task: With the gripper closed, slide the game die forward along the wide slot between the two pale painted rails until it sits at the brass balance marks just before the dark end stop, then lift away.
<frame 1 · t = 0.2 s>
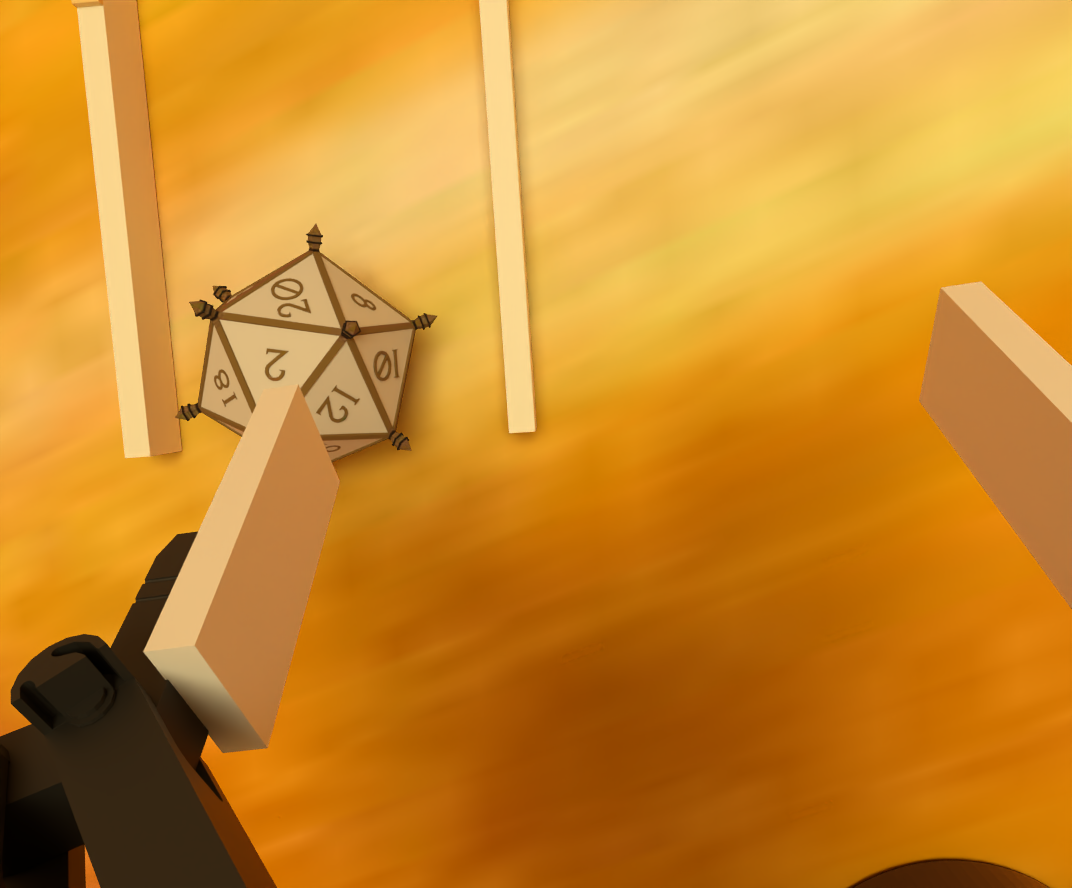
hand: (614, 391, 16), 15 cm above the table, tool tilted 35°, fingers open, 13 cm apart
slotted beam: (320, 134, 31), on the table
game die: (341, 368, 32), on the table
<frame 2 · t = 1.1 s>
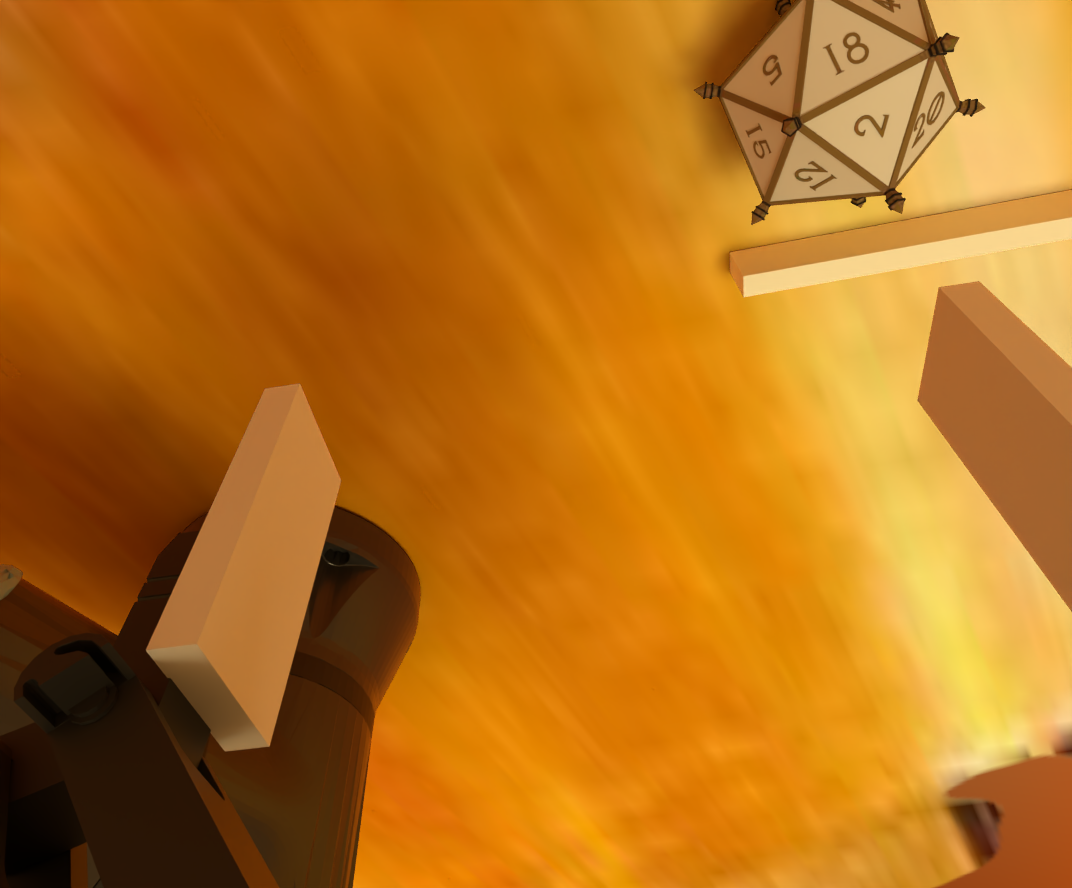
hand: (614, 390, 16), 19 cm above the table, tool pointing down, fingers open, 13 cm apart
slotted beam: (1051, 23, 29), on the table
game die: (799, 72, 30), on the table
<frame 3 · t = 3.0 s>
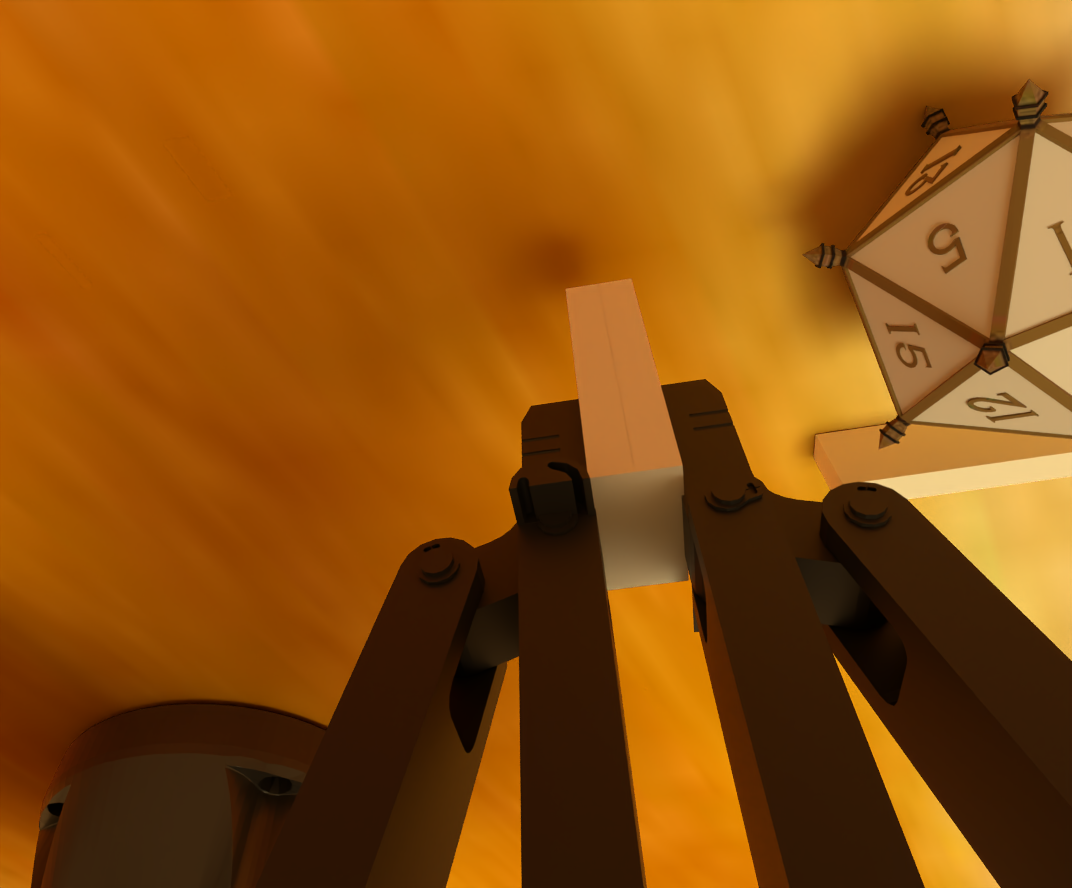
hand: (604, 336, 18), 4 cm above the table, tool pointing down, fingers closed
game die: (942, 209, 20), on the table
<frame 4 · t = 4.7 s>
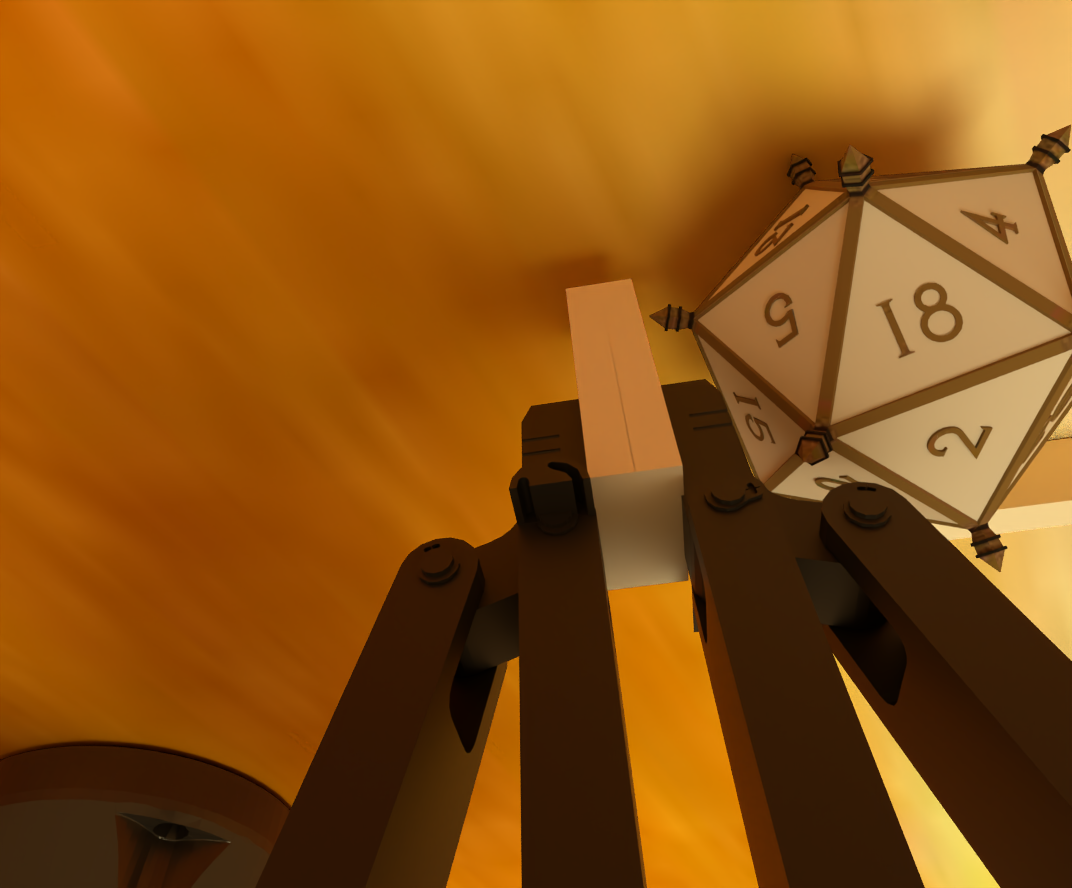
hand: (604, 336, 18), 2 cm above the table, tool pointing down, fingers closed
game die: (822, 259, 19), on the table, touching gripper
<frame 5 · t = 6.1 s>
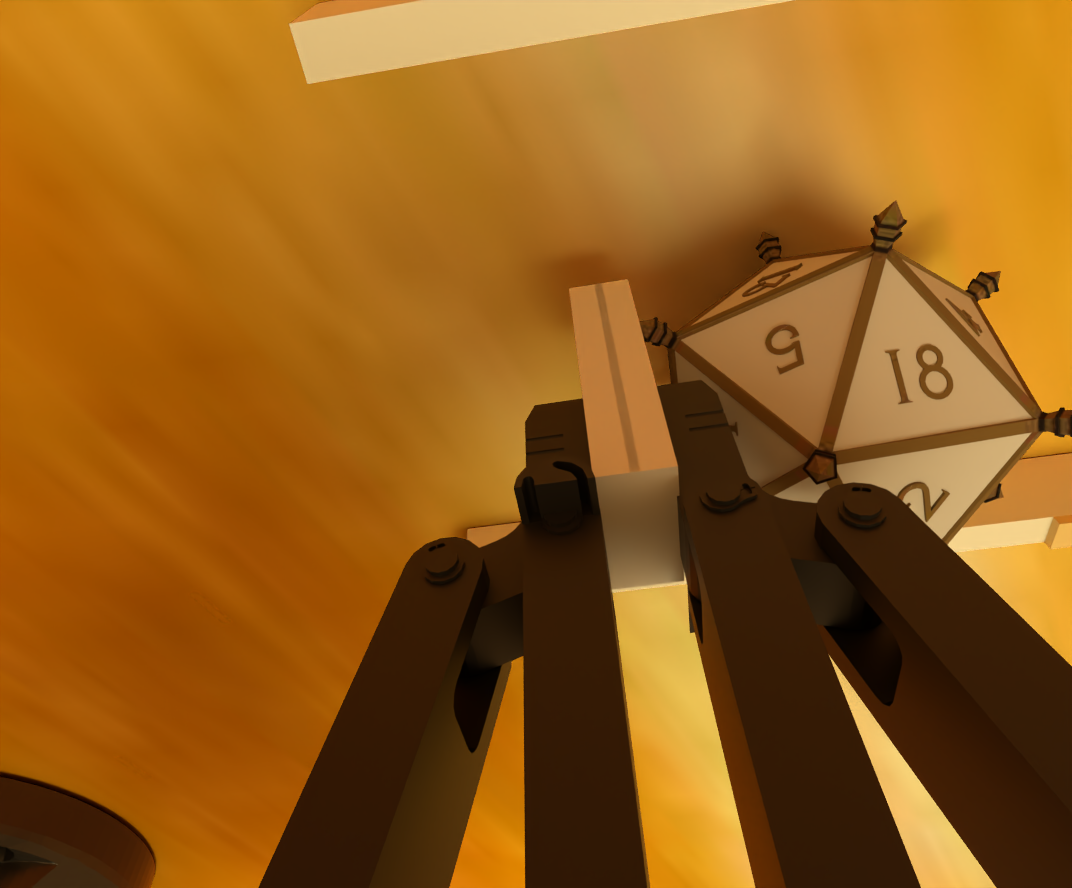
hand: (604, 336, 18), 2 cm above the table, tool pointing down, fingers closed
slotted beam: (891, 272, 19), on the table
game die: (749, 342, 20), on the table, touching gripper
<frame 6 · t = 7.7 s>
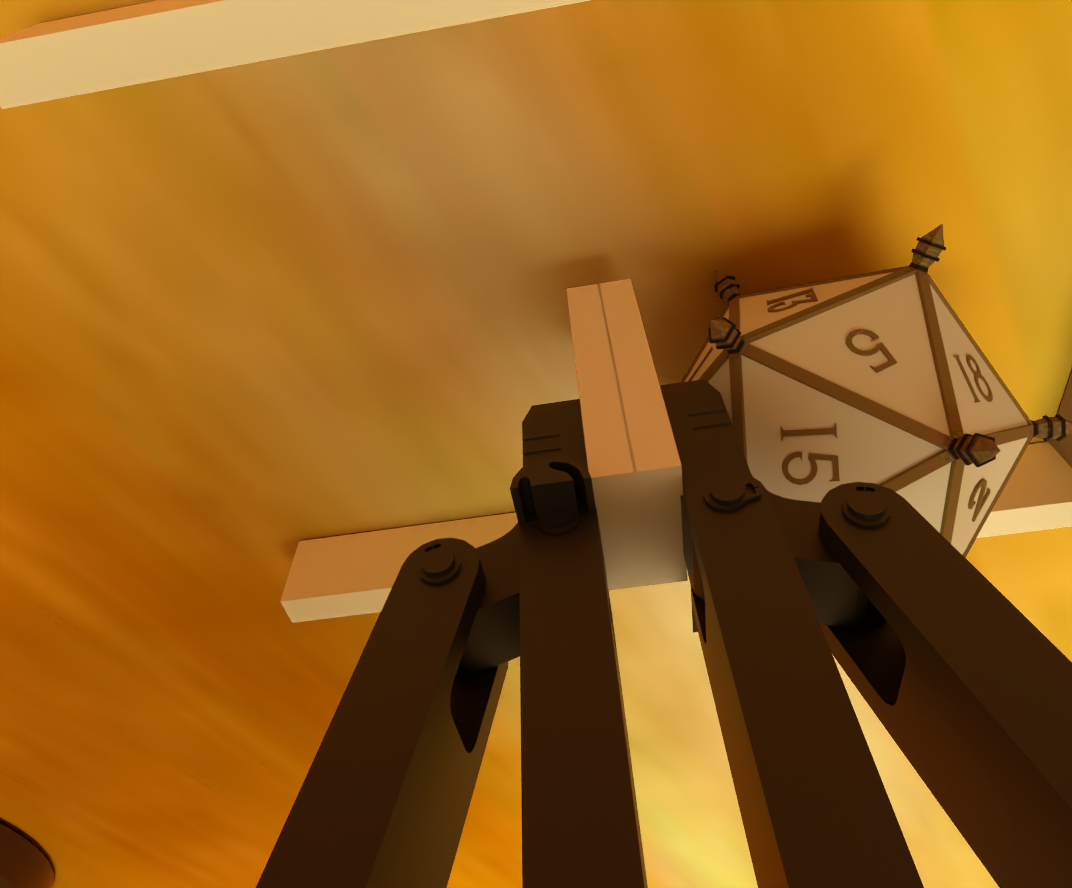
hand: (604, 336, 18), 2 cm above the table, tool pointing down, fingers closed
slotted beam: (677, 286, 19), on the table
game die: (680, 385, 20), point 1 cm above the table, touching gripper
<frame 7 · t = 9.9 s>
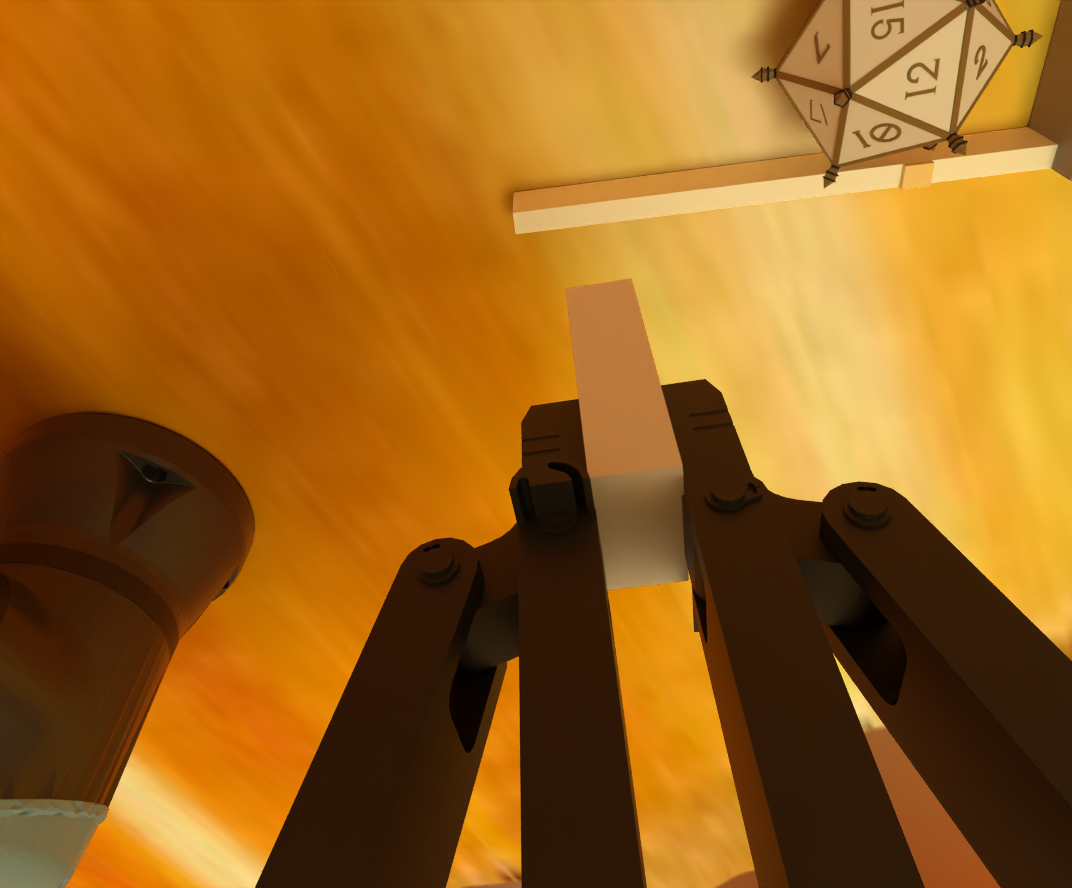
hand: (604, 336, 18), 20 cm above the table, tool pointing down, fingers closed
game die: (793, 53, 31), point 1 cm above the table
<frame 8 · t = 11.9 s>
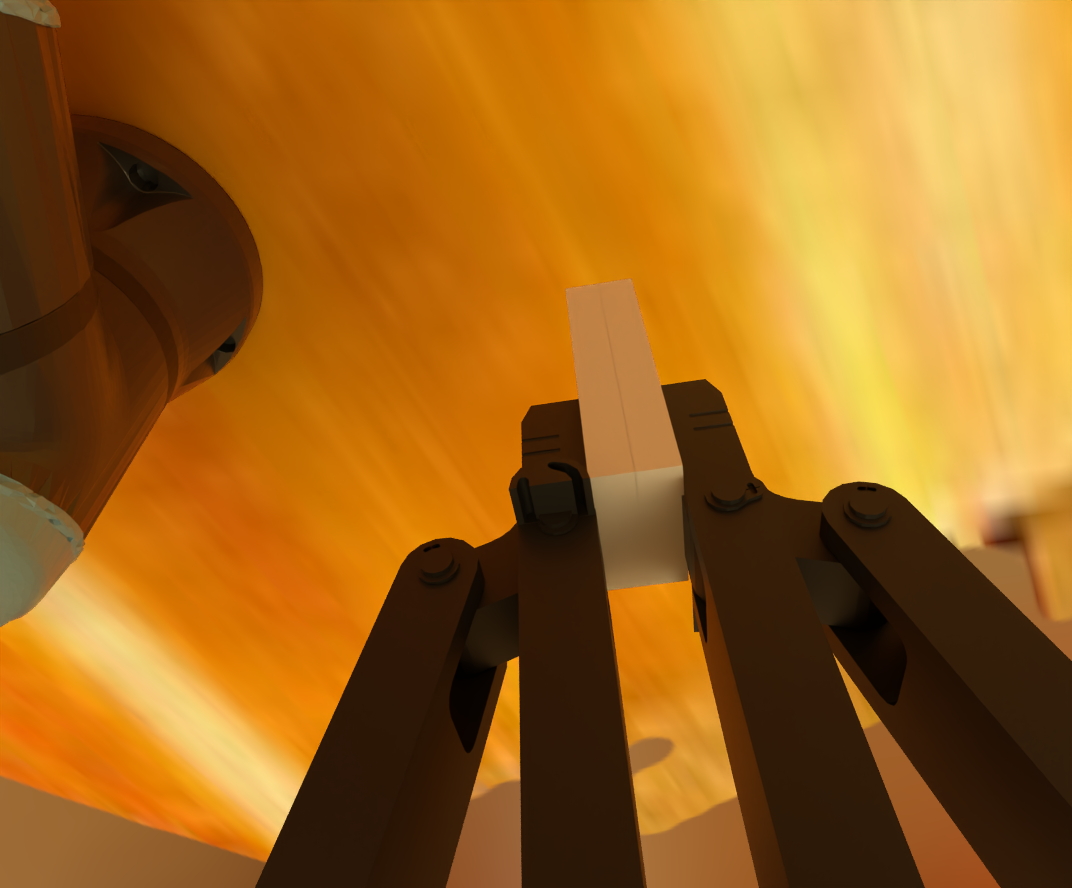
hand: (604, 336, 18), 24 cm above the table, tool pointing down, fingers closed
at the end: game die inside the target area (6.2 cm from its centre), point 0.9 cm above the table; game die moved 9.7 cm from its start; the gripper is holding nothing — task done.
